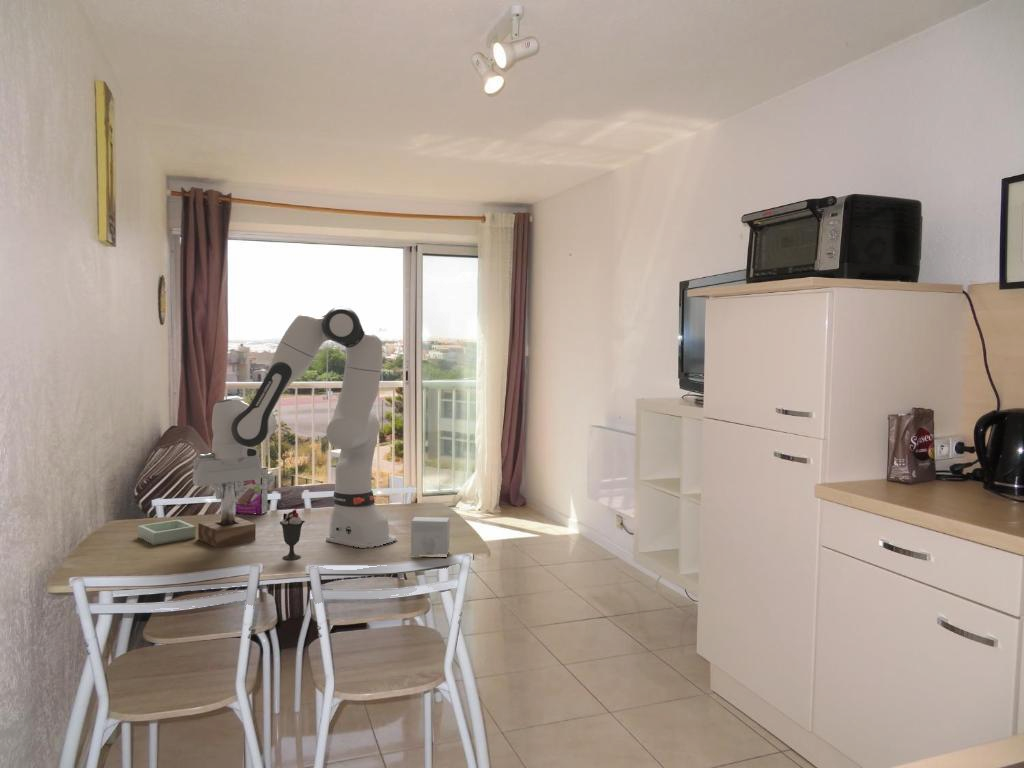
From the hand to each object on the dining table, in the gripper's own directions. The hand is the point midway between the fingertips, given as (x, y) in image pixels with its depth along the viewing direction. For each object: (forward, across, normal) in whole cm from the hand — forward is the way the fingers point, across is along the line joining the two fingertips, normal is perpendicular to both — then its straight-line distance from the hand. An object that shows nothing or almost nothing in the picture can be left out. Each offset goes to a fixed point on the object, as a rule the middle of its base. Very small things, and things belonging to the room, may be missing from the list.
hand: (228, 497), depth 213 cm
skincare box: (+14, +34, -54) cm, 65 cm away
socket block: (+13, 0, 0) cm, 13 cm away
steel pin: (+10, 0, 0) cm, 10 cm away
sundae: (+13, +4, -30) cm, 33 cm away
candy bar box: (+13, +22, +28) cm, 38 cm away
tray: (+13, -12, +14) cm, 23 cm away
